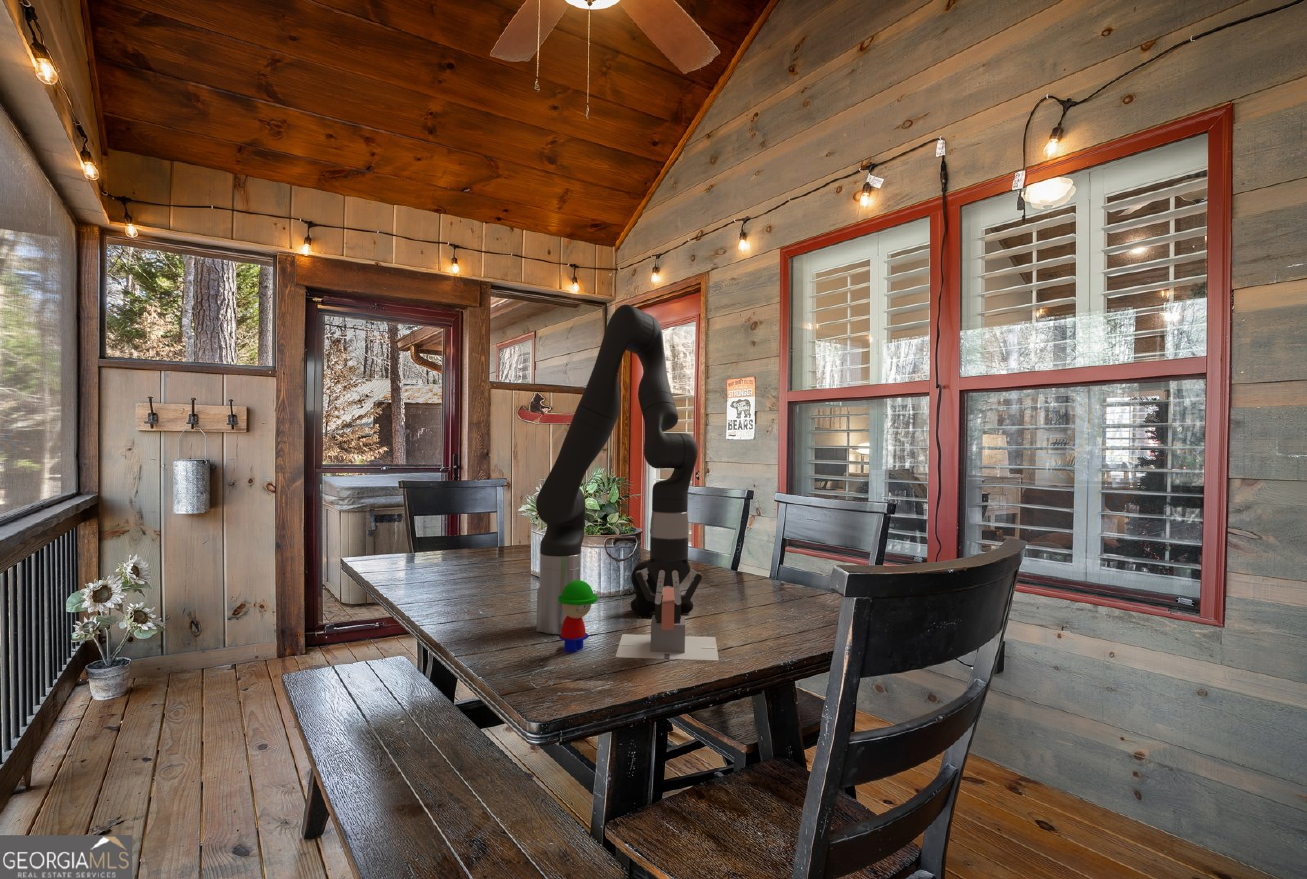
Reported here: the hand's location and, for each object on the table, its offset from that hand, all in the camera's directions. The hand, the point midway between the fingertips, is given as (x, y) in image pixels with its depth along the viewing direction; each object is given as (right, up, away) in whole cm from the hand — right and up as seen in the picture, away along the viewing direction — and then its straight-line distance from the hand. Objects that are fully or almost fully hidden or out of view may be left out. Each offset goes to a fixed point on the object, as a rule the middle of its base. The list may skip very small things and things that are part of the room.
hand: (667, 622), depth 129 cm
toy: (-18, -7, +2) cm, 20 cm away
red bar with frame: (0, -6, +5) cm, 8 cm away
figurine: (-1, -8, +36) cm, 37 cm away
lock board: (0, -8, +5) cm, 9 cm away
